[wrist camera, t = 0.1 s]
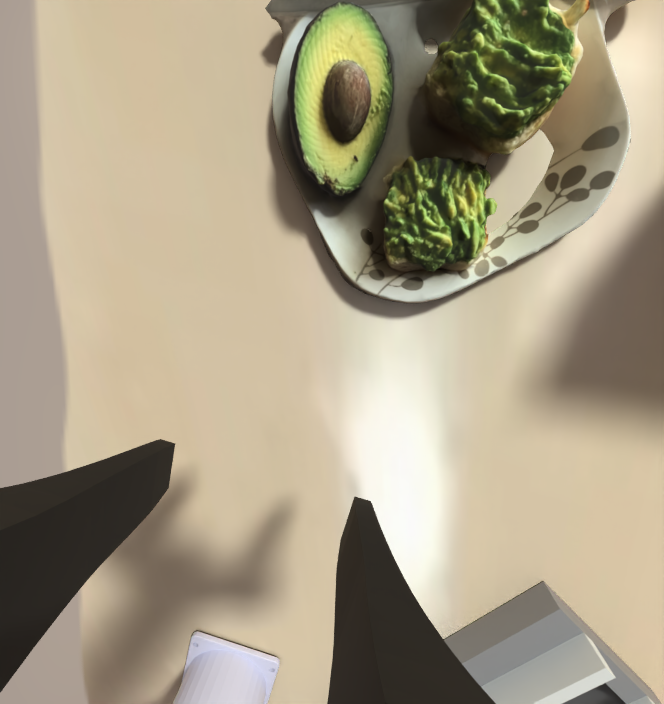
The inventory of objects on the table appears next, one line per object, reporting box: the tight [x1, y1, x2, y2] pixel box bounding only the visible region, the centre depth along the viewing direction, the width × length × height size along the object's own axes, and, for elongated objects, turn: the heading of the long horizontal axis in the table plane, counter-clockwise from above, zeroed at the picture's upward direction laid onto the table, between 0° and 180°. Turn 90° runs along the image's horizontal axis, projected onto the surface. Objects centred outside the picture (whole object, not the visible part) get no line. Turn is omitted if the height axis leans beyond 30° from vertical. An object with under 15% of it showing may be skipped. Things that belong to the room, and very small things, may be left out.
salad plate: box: [265, 0, 634, 303], centre depth 15 cm, size 19×18×5 cm
